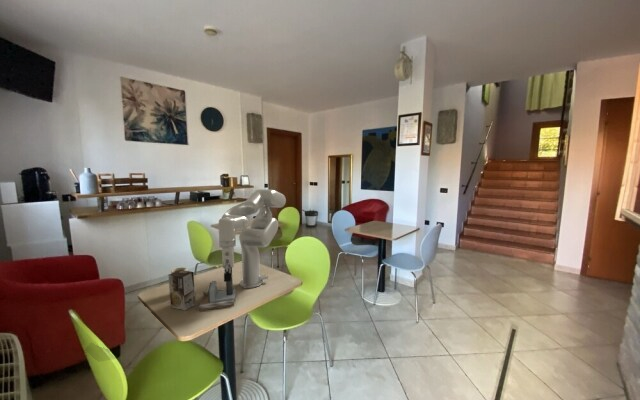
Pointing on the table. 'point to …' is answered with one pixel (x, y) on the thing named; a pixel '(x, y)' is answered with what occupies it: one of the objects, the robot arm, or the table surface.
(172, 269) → the character mug
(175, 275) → the coffee box
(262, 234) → the robot arm
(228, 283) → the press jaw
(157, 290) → the table surface
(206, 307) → the press bed
